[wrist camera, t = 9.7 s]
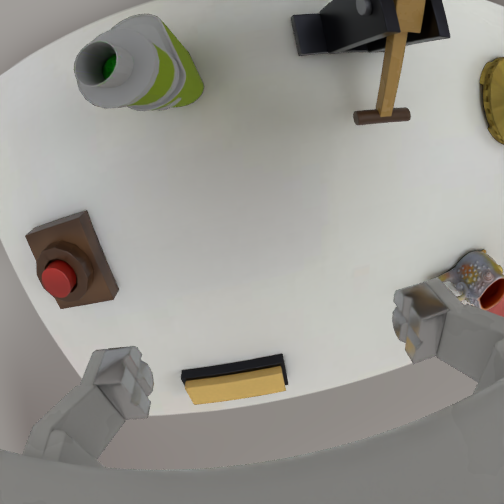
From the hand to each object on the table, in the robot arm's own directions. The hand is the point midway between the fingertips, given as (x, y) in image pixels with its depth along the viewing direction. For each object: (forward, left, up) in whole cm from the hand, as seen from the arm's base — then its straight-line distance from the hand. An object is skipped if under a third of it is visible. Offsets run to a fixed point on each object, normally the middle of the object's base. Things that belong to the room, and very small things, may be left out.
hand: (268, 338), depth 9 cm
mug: (+18, +27, -23) cm, 39 cm away
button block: (+5, -20, -23) cm, 31 cm away
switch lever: (-9, +13, -15) cm, 22 cm away
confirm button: (+5, -21, -19) cm, 29 cm away
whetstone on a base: (+27, -6, -23) cm, 36 cm away
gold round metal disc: (-5, +36, -23) cm, 43 cm away
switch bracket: (-12, +13, -23) cm, 29 cm away
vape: (-10, -4, -23) cm, 25 cm away
